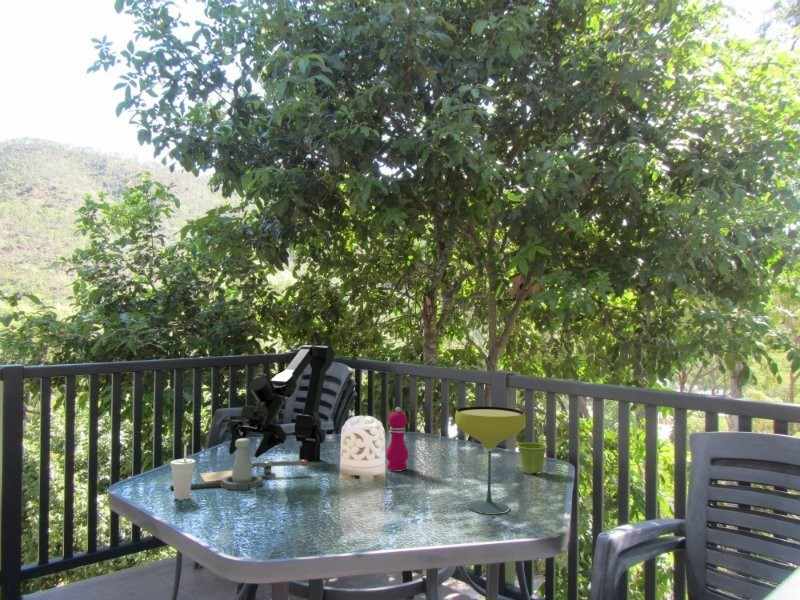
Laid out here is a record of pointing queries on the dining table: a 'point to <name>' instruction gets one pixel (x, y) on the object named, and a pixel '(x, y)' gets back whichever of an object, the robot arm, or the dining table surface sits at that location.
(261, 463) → the clip
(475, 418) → the cocktail glass
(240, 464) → the salt shaker
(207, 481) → the coaster
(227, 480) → the grey ring with rod
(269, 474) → the clip post
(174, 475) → the smoothie
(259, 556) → the dining table surface
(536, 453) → the plant pot
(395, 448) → the pepper mill
